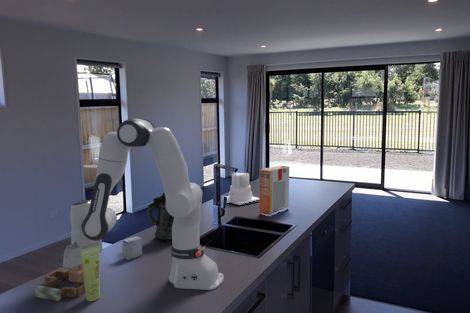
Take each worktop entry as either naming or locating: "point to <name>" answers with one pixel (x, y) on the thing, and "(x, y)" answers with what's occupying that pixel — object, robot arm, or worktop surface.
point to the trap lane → (54, 279)
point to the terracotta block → (75, 274)
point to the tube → (91, 272)
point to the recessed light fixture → (240, 190)
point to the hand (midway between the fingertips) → (84, 270)
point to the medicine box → (132, 247)
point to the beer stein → (161, 220)
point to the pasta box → (274, 189)
